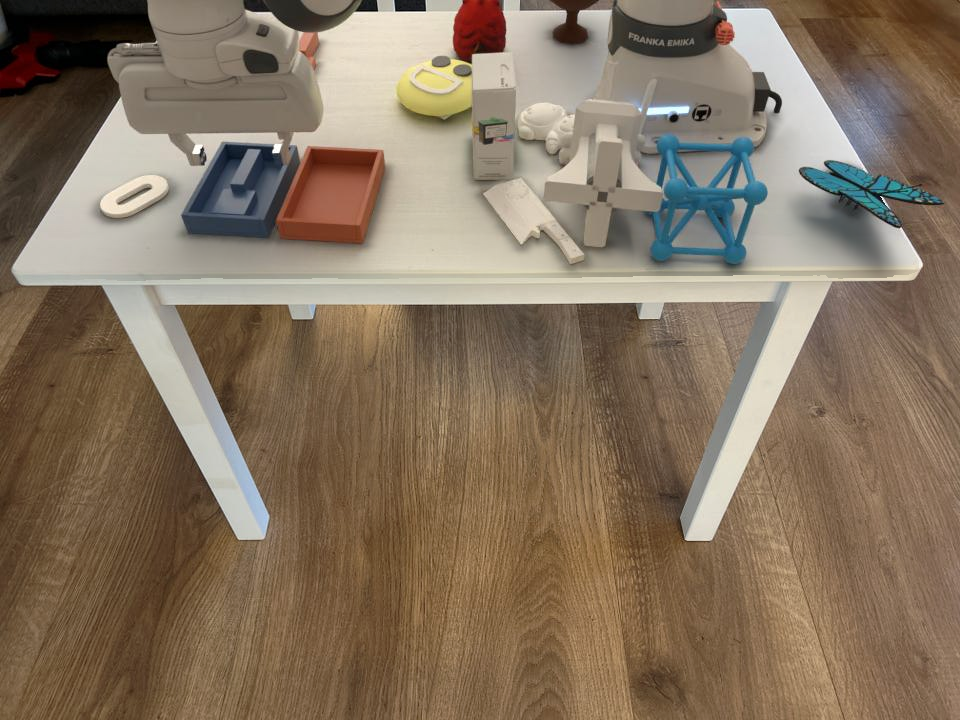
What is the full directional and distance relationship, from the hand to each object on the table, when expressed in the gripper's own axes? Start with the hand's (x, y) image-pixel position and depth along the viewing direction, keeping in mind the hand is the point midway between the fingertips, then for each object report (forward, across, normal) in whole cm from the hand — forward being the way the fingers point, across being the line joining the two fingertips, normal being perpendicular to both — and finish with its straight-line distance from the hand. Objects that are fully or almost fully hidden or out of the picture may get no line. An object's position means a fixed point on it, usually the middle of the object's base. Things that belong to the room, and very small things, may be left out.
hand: (241, 162), depth 85 cm
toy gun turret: (-2, +39, -10) cm, 40 cm away
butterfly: (+5, +69, -4) cm, 69 cm away
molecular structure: (0, +55, -8) cm, 56 cm away
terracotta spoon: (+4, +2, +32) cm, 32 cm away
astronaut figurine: (+5, +42, +8) cm, 43 cm away
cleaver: (+6, +32, -6) cm, 33 cm away
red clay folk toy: (+5, +27, +32) cm, 42 cm away
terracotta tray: (+4, +10, -1) cm, 11 cm away
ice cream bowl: (+5, +41, +39) cm, 57 cm away
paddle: (+4, 0, 0) cm, 4 cm away
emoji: (+5, +22, +21) cm, 30 cm away
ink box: (+5, +28, +7) cm, 30 cm away
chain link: (+4, -11, -2) cm, 12 cm away
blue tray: (+4, 0, 0) cm, 5 cm away
